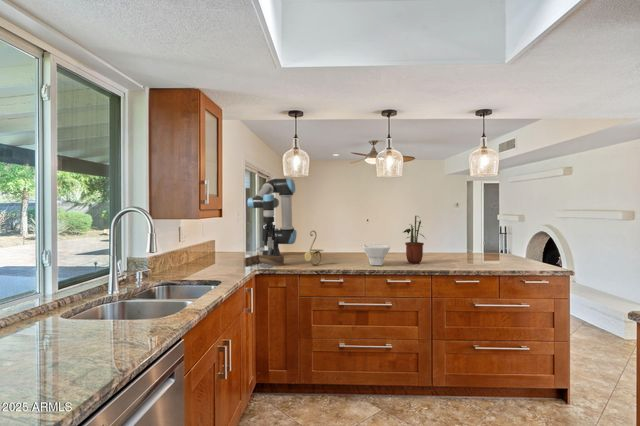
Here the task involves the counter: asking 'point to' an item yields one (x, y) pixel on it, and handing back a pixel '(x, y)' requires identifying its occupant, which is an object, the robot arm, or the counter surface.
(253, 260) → the corner walls
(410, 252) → the potted plant
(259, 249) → the angle bracket
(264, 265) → the mat
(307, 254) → the wall sconce
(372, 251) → the bowl
